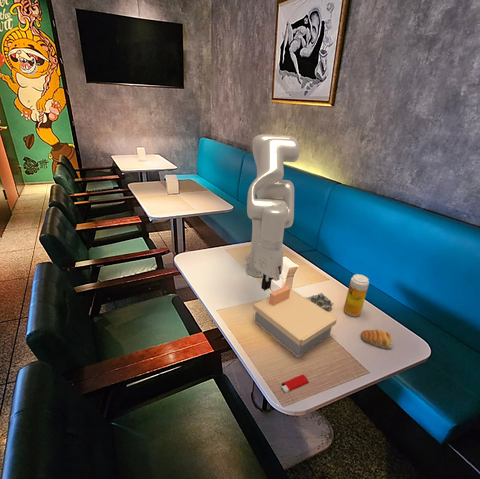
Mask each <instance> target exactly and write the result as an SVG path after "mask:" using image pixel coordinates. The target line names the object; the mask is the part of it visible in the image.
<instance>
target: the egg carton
mask: <svg viewBox="0 0 480 479" xmlns="http://www.w3.org/2000/svg"><path fill="white" fill-rule="evenodd" d="M305 298H306V299H308V300H309V301H311V302H313V303H314V304H316V305H317V306H319V307H320V308H322V309H324V310H325V311H327V312H329V311H331V307H333V305H334V302H332V300H331V299H329V298H328V297H327V296H326V295H325V294H324V293H323V292H321V293H318V294H315V295H312V296H308V297H305Z"/></svg>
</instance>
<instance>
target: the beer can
mask: <svg viewBox="0 0 480 479" xmlns="http://www.w3.org/2000/svg"><path fill="white" fill-rule="evenodd" d="M369 280H370V279H369V278H368V277H367V276H365V275H363V274H358V273H356V274H353V276H352V277H351V279H350V283H349V286H348V290H347V294H346V297H345V301H344V304H343V305H344V306H343V310H344V312H345V314H346V315H348V316H350V317H358V316H360V315H361V314H362V309H363V307H364V306H363V305H364V303H365V299H366V296H367V292H368V288H369V285H370V281H369Z"/></svg>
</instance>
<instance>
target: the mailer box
mask: <svg viewBox="0 0 480 479" xmlns="http://www.w3.org/2000/svg"><path fill="white" fill-rule="evenodd" d="M254 311H255V310H254ZM254 323H256V324H257V325H258V326H259V327H261V328H262V329H263V330H264V331H266V332H267V333H268V334H269V335H270V336H272V337H273V339H275V340H276V341H278V342H279V343H280V344H281V345H282V346H284V347H285V348H286V349H287V350H288V351H290V352H291V353H292V354H293V355H294V356H295V357H296V358H299V357H301V356H303V355H304V354H305V353H307V352H308V351H310V350H312V348H314V347H316V346H317V345H318V344H320V343H322V342H323V341H325V340H326V339H327V338H329V337H330V335H331V332H332V329H333V326H332V327H331V328H329V329H328V330H326V331H325V332H323V333H321V334H320V335H318V336H317V337H315V338H314V339H312V340H311V341H309V342H307V343H306V344H304V345H303V346H302V345H301V344H300V345H298V344H297V343H295V342H294V341H293V340H291V339H290V338H289V337H288V336H286V335H285V334H284V333H283V332H281V331H280V330H279V329H278V328H276V327H275V326H274V325H273V324H271V323H270V322H269V321H267V320H266V319H265V318H264V317H262V316H261V315H260V314H259V313H257V312H256V311H255V313H254Z"/></svg>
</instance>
